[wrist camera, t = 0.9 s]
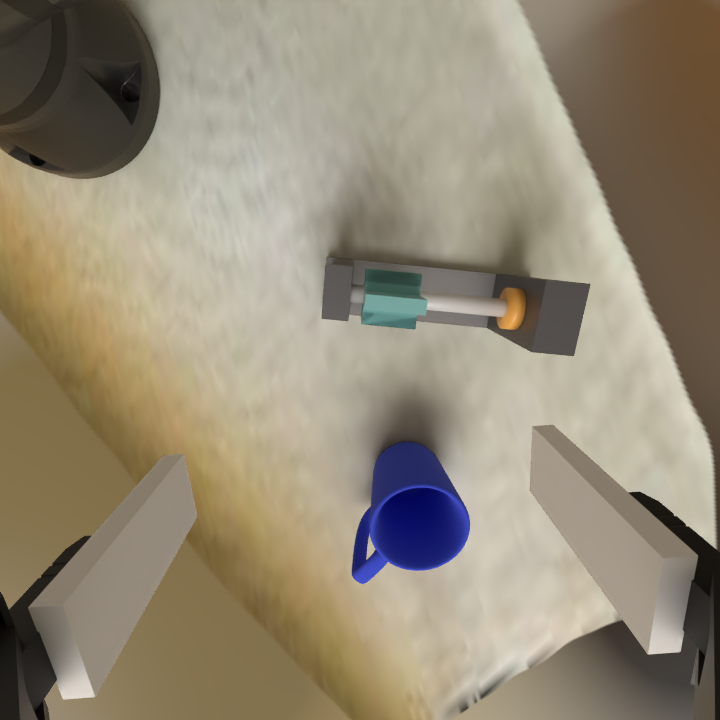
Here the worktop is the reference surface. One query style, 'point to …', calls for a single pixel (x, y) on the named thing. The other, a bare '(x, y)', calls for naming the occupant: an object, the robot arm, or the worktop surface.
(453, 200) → the worktop surface
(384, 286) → the sleeve
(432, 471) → the mug
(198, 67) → the worktop surface
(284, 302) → the worktop surface
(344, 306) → the grey slider rail stand
